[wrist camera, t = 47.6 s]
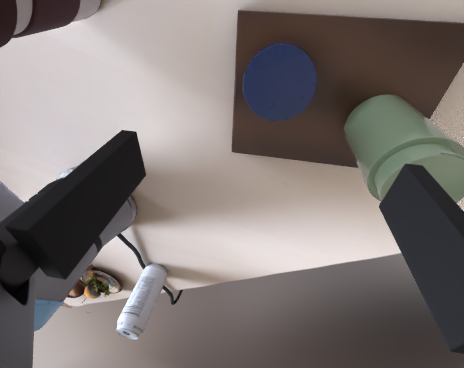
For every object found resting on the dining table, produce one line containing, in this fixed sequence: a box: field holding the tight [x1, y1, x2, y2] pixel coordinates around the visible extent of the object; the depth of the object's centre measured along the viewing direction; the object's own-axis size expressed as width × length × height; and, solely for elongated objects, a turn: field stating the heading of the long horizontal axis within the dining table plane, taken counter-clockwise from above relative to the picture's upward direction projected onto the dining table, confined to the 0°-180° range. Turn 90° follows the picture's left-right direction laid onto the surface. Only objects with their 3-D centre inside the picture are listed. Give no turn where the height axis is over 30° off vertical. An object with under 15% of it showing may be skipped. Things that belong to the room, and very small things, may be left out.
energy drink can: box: [116, 264, 167, 339], centre depth 53 cm, size 6×6×15 cm
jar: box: [344, 95, 464, 203], centre depth 22 cm, size 7×7×12 cm
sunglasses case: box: [67, 280, 86, 298], centre depth 74 cm, size 18×7×7 cm
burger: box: [81, 265, 122, 303], centre depth 64 cm, size 12×12×8 cm
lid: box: [243, 41, 317, 121], centre depth 25 cm, size 8×8×2 cm
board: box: [232, 10, 464, 168], centre depth 27 cm, size 16×22×1 cm
